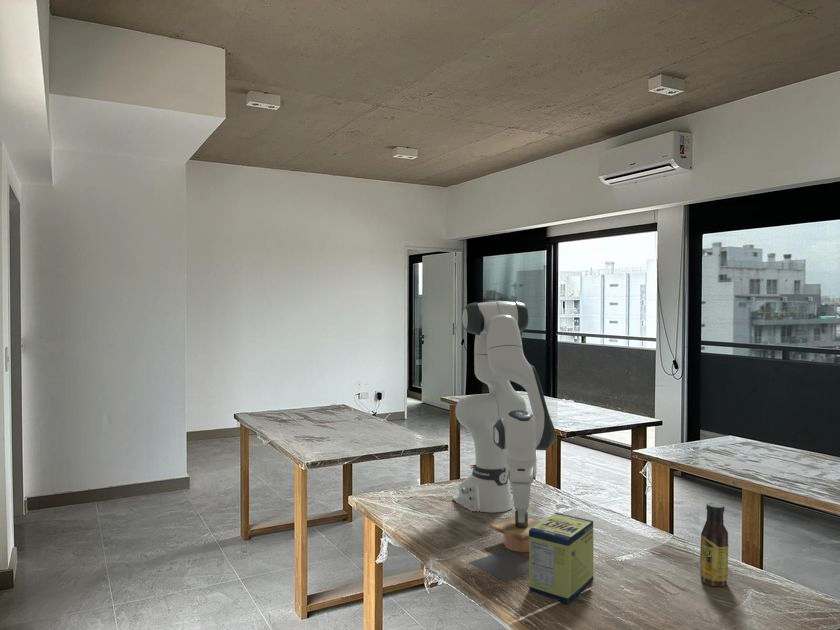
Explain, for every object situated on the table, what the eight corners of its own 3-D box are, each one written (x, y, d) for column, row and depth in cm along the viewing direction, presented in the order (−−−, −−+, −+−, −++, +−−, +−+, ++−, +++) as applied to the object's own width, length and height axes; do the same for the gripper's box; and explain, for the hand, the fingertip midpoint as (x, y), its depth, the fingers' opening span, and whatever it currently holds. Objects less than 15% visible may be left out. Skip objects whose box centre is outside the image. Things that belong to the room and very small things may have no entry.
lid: (489, 527, 178) (489, 510, 178) (521, 518, 185) (521, 501, 185) (521, 541, 167) (521, 523, 167) (554, 530, 175) (554, 513, 175)
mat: (468, 564, 165) (468, 562, 165) (506, 551, 173) (506, 549, 173) (505, 583, 153) (505, 581, 153) (543, 568, 162) (543, 566, 162)
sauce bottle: (695, 576, 156) (695, 499, 156) (720, 576, 156) (720, 499, 156) (707, 588, 150) (707, 508, 149) (733, 588, 150) (733, 508, 149)
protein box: (594, 581, 154) (594, 520, 154) (568, 605, 142) (568, 539, 142) (555, 570, 161) (555, 511, 161) (528, 592, 149) (527, 529, 148)
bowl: (496, 545, 178) (496, 528, 177) (521, 537, 183) (521, 520, 183) (521, 556, 169) (521, 538, 169) (546, 547, 175) (546, 530, 175)
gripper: (510, 458, 187) (510, 503, 187) (509, 477, 167) (509, 528, 167) (531, 459, 186) (531, 504, 186) (533, 478, 166) (533, 529, 166)
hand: (521, 516), depth 176 cm, fingers open, 8 cm apart
